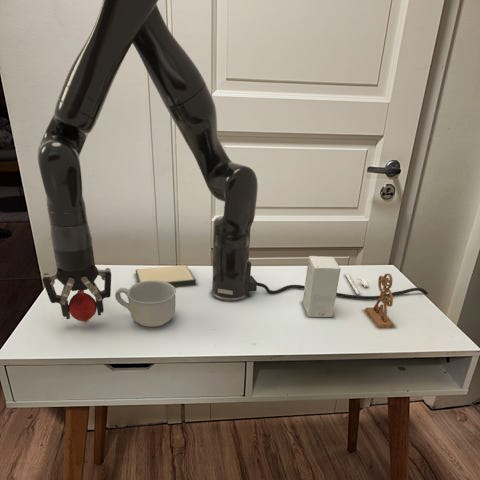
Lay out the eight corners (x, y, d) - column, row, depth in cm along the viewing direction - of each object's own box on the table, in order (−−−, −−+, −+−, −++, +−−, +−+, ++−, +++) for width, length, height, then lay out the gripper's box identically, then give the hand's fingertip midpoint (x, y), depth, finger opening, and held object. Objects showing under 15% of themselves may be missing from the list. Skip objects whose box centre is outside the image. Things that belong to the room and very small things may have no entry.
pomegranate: (90, 329, 93) (85, 297, 90) (66, 326, 94) (60, 293, 90) (103, 317, 98) (98, 285, 95) (79, 314, 99) (74, 282, 95)
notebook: (187, 270, 128) (187, 264, 127) (195, 285, 119) (195, 279, 118) (135, 274, 124) (135, 268, 123) (140, 290, 115) (140, 284, 114)
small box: (332, 317, 106) (341, 268, 100) (307, 317, 106) (314, 267, 99) (325, 302, 113) (333, 256, 107) (302, 302, 113) (308, 255, 106)
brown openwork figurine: (393, 327, 103) (405, 281, 97) (378, 328, 102) (389, 282, 97) (378, 310, 111) (388, 266, 105) (364, 310, 110) (373, 267, 104)
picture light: (345, 275, 130) (346, 268, 129) (359, 275, 130) (360, 269, 129) (356, 295, 118) (358, 288, 117) (372, 296, 118) (374, 289, 117)
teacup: (184, 315, 104) (183, 285, 100) (163, 336, 95) (161, 304, 91) (133, 304, 107) (131, 274, 103) (108, 324, 98) (104, 292, 94)
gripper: (32, 252, 82) (48, 328, 90) (110, 247, 86) (118, 319, 95) (35, 240, 88) (50, 311, 97) (108, 235, 93) (116, 304, 101)
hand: (84, 315), depth 96 cm, fingers closed on pomegranate, 6 cm apart
